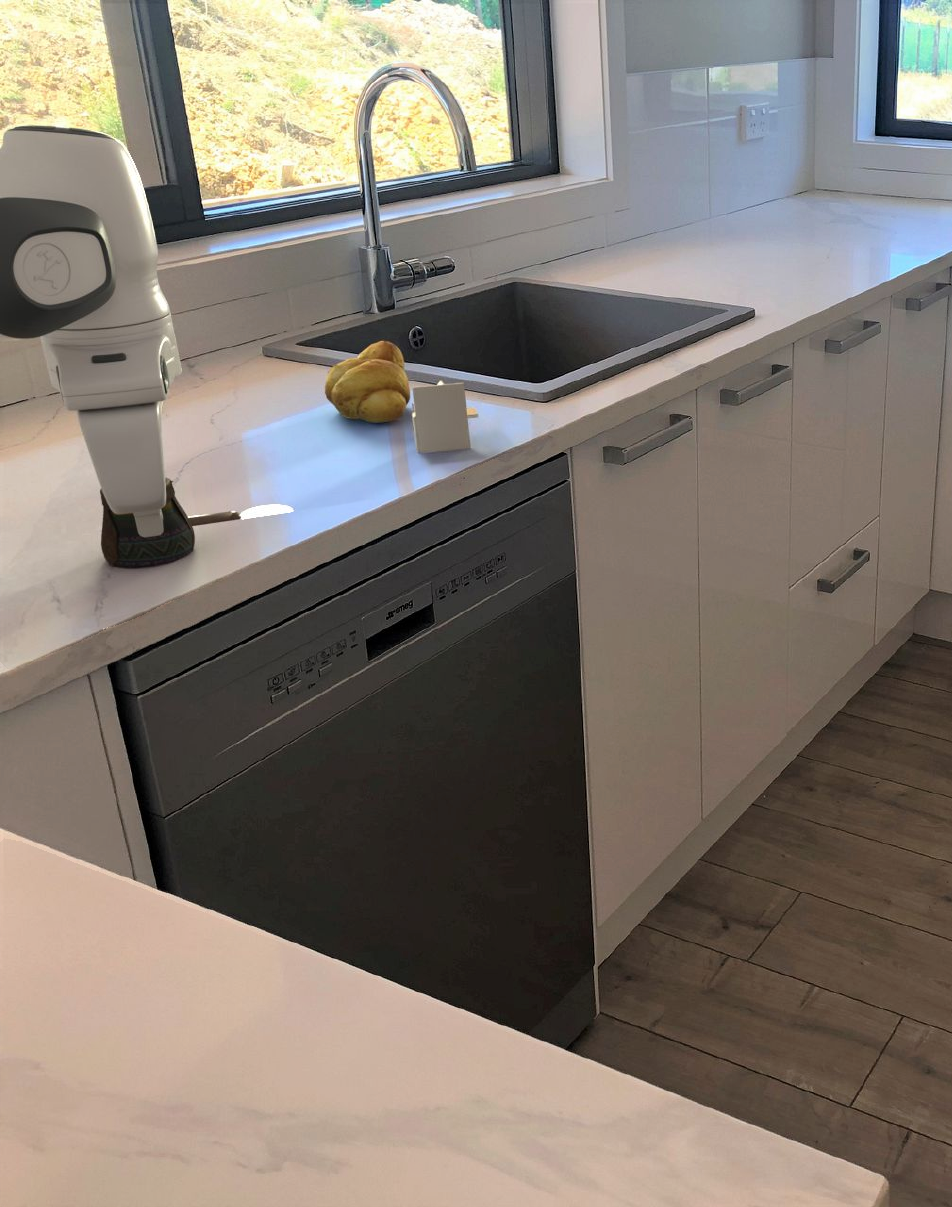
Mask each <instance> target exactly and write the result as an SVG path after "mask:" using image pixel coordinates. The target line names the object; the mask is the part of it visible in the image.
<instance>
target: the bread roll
mask: <svg viewBox="0 0 952 1207" xmlns="http://www.w3.org/2000/svg"><path fill="white" fill-rule="evenodd" d="M324 395H325V396H326V397H325V398H326V399H327V400H328V402H330V403H331V404H332V405H333V406H334V408H335V409H336V410H337V412H338V413H340V415H342V417H344V418H347V419H352V420H362V421H365V422H367V423H372V424H373V423H376V424H379V423H388V422H394V421H397V420H398V419H400V418H402V416H403V415H404V414H405V411H406V408H407V406H408V404H409V402H410V401H411V389H410V382H409V378H408V376H407V372H406V371H405V359H404V356H403V354H402V351H401V349H399V347H398V346H397V345H396V344H394V343H392V342H390V341H389V340H387V341H386V340H380V341H378V342H375V343H372V344H370V345H369V346H368V347H366V348H365V349H364V350H363V351H362V352H360V353H359V354H358V356H357V357H352V358H347V359H346V360H344V361H341V362H339V363H337V364H335V365H333V366H332V367H331V368H330V369H329V371H327V376H326V379H325V384H324Z"/></svg>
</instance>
